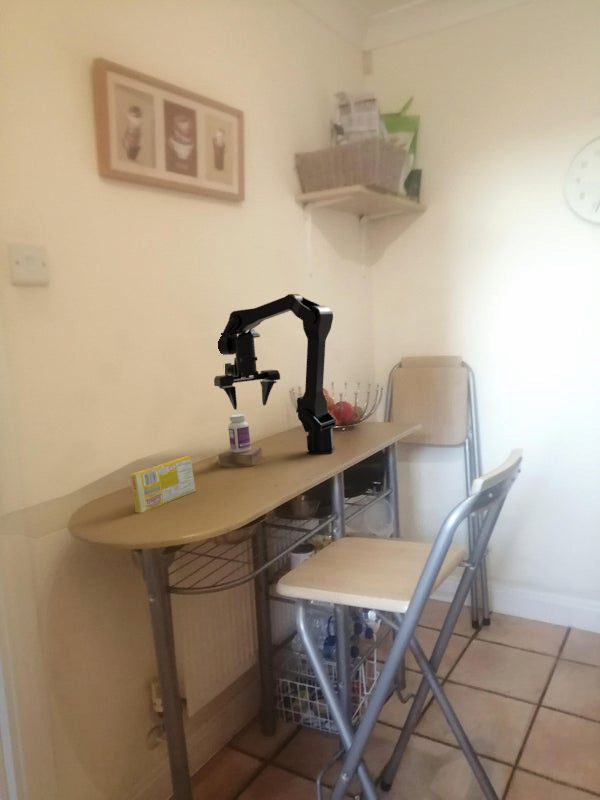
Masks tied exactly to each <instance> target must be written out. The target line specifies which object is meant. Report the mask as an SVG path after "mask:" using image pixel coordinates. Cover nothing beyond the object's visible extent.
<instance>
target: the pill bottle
mask: <svg viewBox="0 0 600 800" xmlns="http://www.w3.org/2000/svg"><path fill="white" fill-rule="evenodd" d="M229 421H230V422H231V423H229V425H228V429H227V430H228V436H229V448H231V452H233V453H242V452H247V451H249V450H250V449H251V447H252V446H251V439H250V438H251V437H250V436H251V435H250V427H249V426H250V425H249V423H248V422H247V421H246V415H245V414H244V413H241V414H240V413H239V414H232V415H230V416H229Z"/></svg>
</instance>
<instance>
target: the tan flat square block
mask: <svg viewBox="0 0 600 800" xmlns="http://www.w3.org/2000/svg"><path fill="white" fill-rule="evenodd" d="M261 459H263V449H262V446H251V449H250V450H249V451H247V452H242V453H233V452H231V448H230V447H229V448H228V449H226V450H225V451H223V452H221V453H220V454H218V461H219V467H223V468H224V467H225V468H226V467H253V466H255V465H256V464H257V463H258V462H259V461H261Z"/></svg>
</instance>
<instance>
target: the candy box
mask: <svg viewBox="0 0 600 800" xmlns="http://www.w3.org/2000/svg"><path fill="white" fill-rule="evenodd" d="M129 475H130V482H131V489H132V496H133V504H134V509H135V510H134V511H135V513H140V514H142V513H144V512H147V511H150V510H152V509H155V508H157V507H159V506H161V505H166V504H168V503H169V502H172V501H175V500H177V499H179V498H183V497H184V496H187V495H190V494H192V493H195V492H197V491H196V484H195V477H194V470H193V463H192V456H191V455H185V456H182V457H178V458H175V459H172V460H170V461H167V462H163V463H161V464H158V465H155V466H151V467H149V468H145V469H143V470H140V471H136V472H133V473H131V474H129Z"/></svg>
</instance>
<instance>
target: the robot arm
mask: <svg viewBox="0 0 600 800" xmlns="http://www.w3.org/2000/svg"><path fill="white" fill-rule="evenodd" d="M290 311H291V313H292V314H294V316H295V317H296V318H298V319H299V320H301V321H302V327H303V331H304V334H305V336H306V340H307V342H306V343H307V345H306V347H307V348H306V366H305V367H306V369H305V385H304V386H305V388H304V389H305V390H304V394H303V395H302V396H300V397H297V399H296V404H297V405H296V411H295V413H296V414H297V418H298V420H299V421H300V422H301V424H302V427H303V429H304V432H305V433H308V434H307V435H306V444H307V451H308V452H307V454H309V455H311V454H313V455H314V454H316V455H317V454H318V455H319V454H333V452H334V451H335V449H336V446H334V432H333V430H334V429H333V428H334V427H336V424H337V419H336V418H335V416H334V415H333V414H332V413H331V412H330V411H329V410H328V402H327V398H326V396H325V394H324V373H325V359H326V358H325V356H326V340H327V337H328V335H329V333H330V331H331V330H332V324H333V320H334V313H333V310H332V309H331V308H329V306H327V305H321V304H318V303H317V302H315V301H312V300H310V299H308V298H306V297H304V296H303V295H301V294H299V293H289V294H287V295H286V296H284V297H283V296H282V297H280V298H278V299H274V300H272V301H270V302H267V303H265V304H262V305H259V306H258V307H255V308H246V309H241V310H240V309H238V310H234V311H232V312H230V314H229V318H228V321H227V324H226V326H225V327H224V329H223V331H222V332H223V333H221V335H222V336H221V337H220V339H219V341H218V349H219V351H220V353H221V354H223V355H222V356H230V355H234V354H235V355H234V356H235V358H234V357H233V359H234V362H233V364H232V363H231V362H228V363H224V364H225V373H224V374H223V375H216V376H215V377H214V378H213V383H214V386H215V387H218V388H219V389H221V390H224V392H225V394H226V395H227V396H228V398H229V401H230V403H231V405H232V407H233V410H234V411H235V410H238V409H237V408H238V404H237V403H238V402H237V401H238V400H237V393H236V391H237V390H236V386H233V384H236V383H243V382H251V381H259V380H260V381H259V383H260V385H261V400H262V406H266V405H267V402H268V399H269V397H270V394H271V391H272V388H273V387H274V384H277V381H279V380H281V373H280V371H279V370H277V369H266V370H260V373H259V370H257V361H258V356H256V349H255V348H256V347H255V338H260V337H261V335H260V333H258V332H257V331H256V330H255V328H256V327H257V326H260V324H261V323H262V322H264V321H267V320H269V319H271V318H274V317H277V316H279V315H283V314H285V313H288V312H290Z"/></svg>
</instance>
